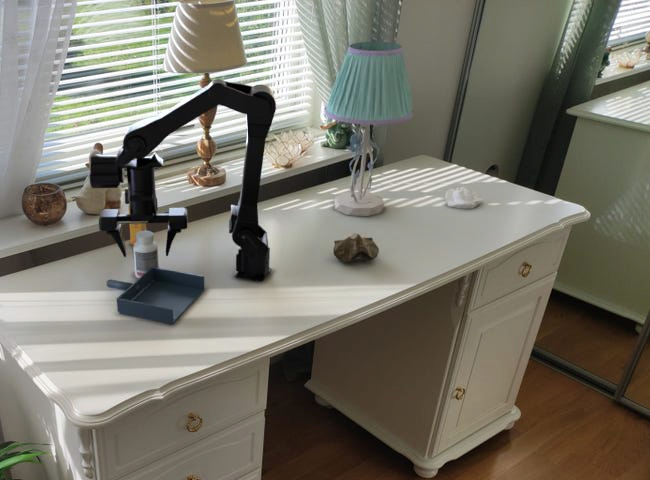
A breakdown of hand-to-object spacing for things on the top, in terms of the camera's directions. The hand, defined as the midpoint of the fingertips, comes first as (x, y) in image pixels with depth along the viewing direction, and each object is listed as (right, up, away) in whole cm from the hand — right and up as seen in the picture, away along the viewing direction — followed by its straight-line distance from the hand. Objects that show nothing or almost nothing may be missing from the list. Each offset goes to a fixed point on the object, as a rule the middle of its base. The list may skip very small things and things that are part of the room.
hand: (146, 255), depth 158 cm
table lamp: (+55, +18, +34) cm, 66 cm away
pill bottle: (0, -4, +3) cm, 5 cm away
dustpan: (+1, -10, -7) cm, 12 cm away
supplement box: (-3, +6, +18) cm, 19 cm away
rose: (+83, +19, +34) cm, 92 cm away
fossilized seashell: (+47, +2, +5) cm, 48 cm away
